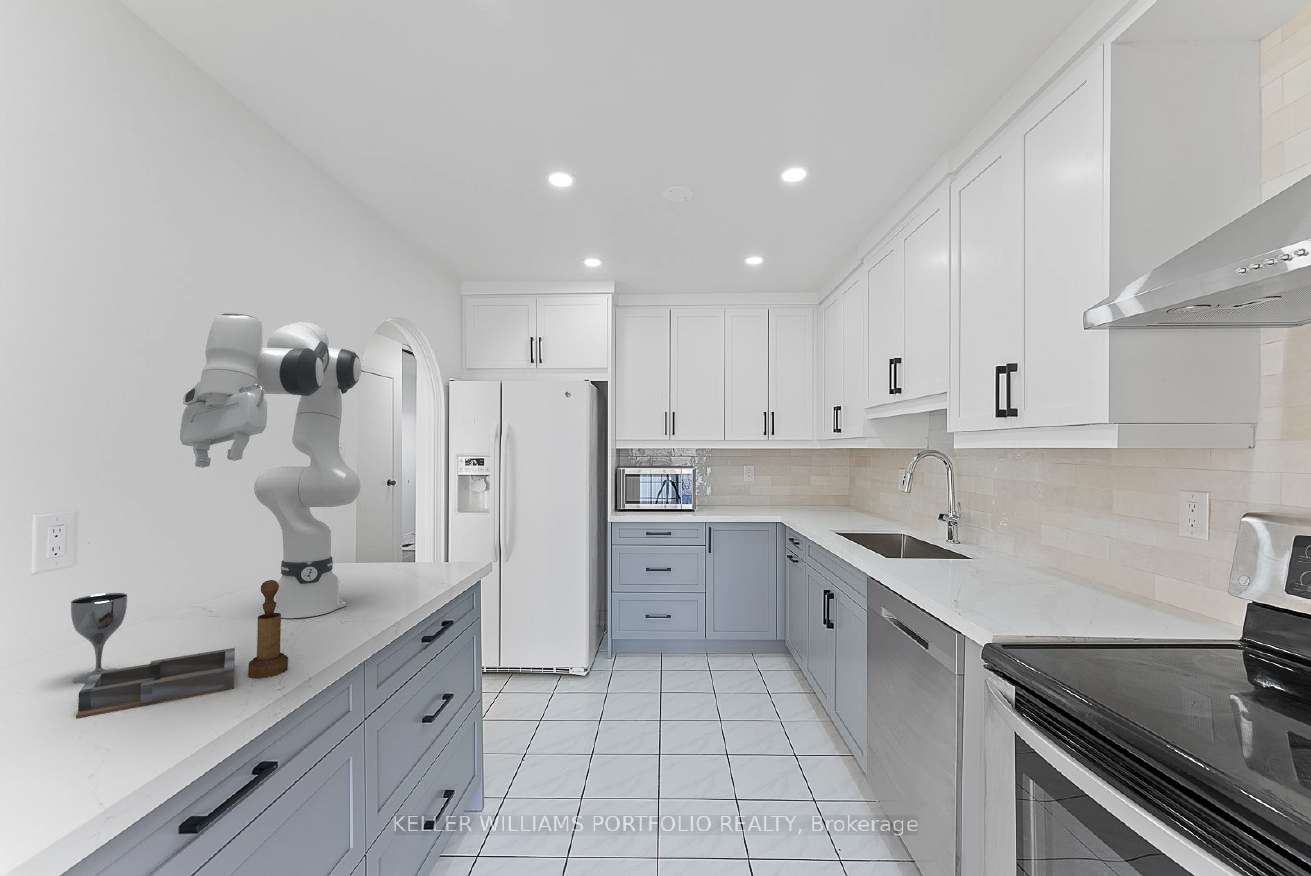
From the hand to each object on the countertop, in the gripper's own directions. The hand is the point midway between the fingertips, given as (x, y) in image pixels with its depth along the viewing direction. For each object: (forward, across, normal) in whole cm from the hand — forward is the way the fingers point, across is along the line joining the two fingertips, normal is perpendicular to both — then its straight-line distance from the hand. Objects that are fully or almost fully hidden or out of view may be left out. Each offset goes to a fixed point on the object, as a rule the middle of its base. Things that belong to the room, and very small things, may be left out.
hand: (217, 463), depth 108 cm
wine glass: (+37, +34, -3) cm, 50 cm away
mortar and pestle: (+38, +6, -18) cm, 43 cm away
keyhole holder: (+39, +15, -5) cm, 43 cm away
